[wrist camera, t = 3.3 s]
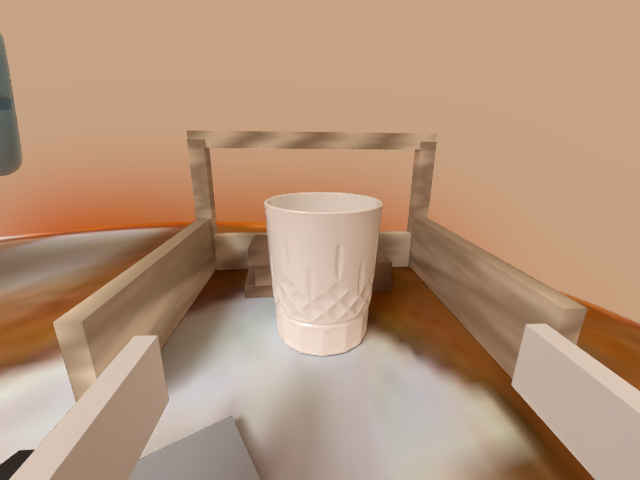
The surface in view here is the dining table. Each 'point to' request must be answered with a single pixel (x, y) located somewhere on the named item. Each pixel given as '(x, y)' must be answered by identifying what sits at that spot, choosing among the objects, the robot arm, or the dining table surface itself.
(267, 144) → the frame
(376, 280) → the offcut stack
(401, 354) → the dining table surface
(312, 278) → the white cup
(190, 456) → the rubber mat
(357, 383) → the dining table surface
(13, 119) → the robot arm
